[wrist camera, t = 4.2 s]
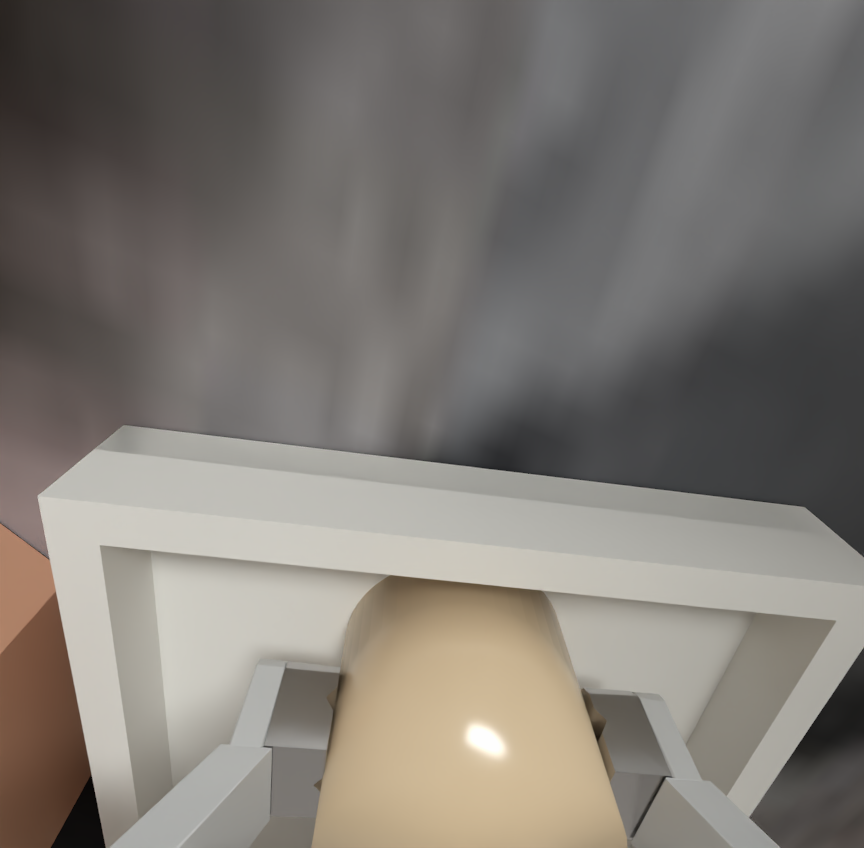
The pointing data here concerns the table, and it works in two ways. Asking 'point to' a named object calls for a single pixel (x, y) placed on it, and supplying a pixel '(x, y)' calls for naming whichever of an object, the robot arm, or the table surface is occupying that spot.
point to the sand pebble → (461, 727)
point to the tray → (431, 559)
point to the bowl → (35, 704)
